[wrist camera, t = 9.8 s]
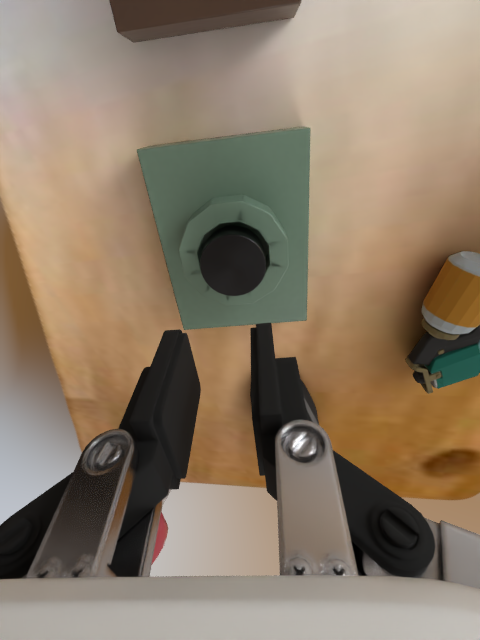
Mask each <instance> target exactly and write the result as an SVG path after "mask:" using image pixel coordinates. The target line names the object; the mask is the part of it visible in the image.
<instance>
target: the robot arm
mask: <svg viewBox="0 0 480 640" xmlns="http://www.w3.org/2000/svg"><path fill="white" fill-rule="evenodd" d="M200 391H201V389H200V382H199V378H198V374H197V370H196V367H195V363H194V359H193V355H192V351H191V347H190V343H189V339H188V336H187V333H182V331H181V330H167V331H165V332H164V333H163V336H162V339H161V341H160V344H159V346H158V349H157V351H156V354H155V356H154V359H153V362H152V364H151V367H146V368H144V369H143V371H142V373H141V376H140V378H139V380H138V383H137V385H136V388H135V390H134V392H133V395H132V397H131V400H130V402H129V404H128V407H127V409H126V412H125V414H124V417H123V419H122V421H121V424H120V426H119V429H113V430H109V431H106V432H104V433H102V434H100V435H98V436H97V437H95V438H94V439H93V440H92V441H91V442H90V443H89V444H88V445H87V446H86V447H85V449H84V451H83V452H82V454H81V456H80V459H79V461H78V463H77V465H76V468H75V470H74V472H73V473H71V474H70V475H68V476H67V477H66V478H64V479H63V480H61V481H60V482H59V483H57V484H56V485H54V486H53V487H52V488H50V489H49V490H47V491H46V492H44V493H43V494H42V495H40V496H39V497H37V498H36V499H35V500H33V501H32V502H30V503H29V504H28V505H26V506H25V507H23V508H22V509H21V510H19V511H18V512H16V513H15V514H14V515H12V516H11V517H10V518H8V519H7V520H6V521H5V522H4V523H2V524H1V525H0V640H480V535H478V534H476V533H473V532H471V531H468V530H465V529H463V528H460V527H458V526H455V525H452V524H450V523H447V522H444V521H440V523H436V522H433V521H431V520H429V519H426V518H424V517H423V516H422V514H421V513H420V512H419V511H418V510H416V509H415V508H414V507H413V506H412V505H411V504H409V503H408V502H406V501H405V500H404V499H402V498H401V497H399V496H398V495H396V494H395V493H394V492H392V491H391V490H389V489H388V488H386V487H385V486H383V485H382V484H381V483H379V482H378V481H376V480H375V479H373V478H372V477H371V476H369V475H368V474H366V473H365V472H363V471H362V470H361V469H359V468H358V467H356V466H355V465H353V464H352V463H351V462H349V461H348V460H346V459H345V458H343V457H342V456H341V455H339V454H338V453H336V452H335V451H333V450H332V445H331V441H330V439H329V436H328V434H327V433H326V432H325V431H324V429H323V428H322V427H320V426H319V425H317V424H316V423H313V422H311V421H309V420H308V415H307V410H306V405H305V400H304V395H303V390H302V385H301V380H300V375H299V370H298V365H297V360H296V357H289V358H275V353H274V344H273V335H272V326H271V323H258V324H256V328H251V402H252V420H253V428H254V436H255V443H256V451H257V458H258V466H259V473H260V476H261V475H265V478H266V487H267V491H268V493H269V494H270V495H271V496H272V497H273V498H274V499H276V500H277V508H278V533H279V534H278V535H279V562H280V576H178V577H177V576H175V577H149V576H150V570H151V565H152V559H153V554H154V548H155V543H156V537H157V532H158V526H159V521H160V515H161V510H162V500H163V499H164V498H165V497H166V496H167V495H168V493H169V489H179V485H180V479H181V478H185V477H186V474H187V468H188V463H189V457H190V451H191V445H192V439H193V434H194V428H195V422H196V416H197V410H198V404H199V399H200Z"/></svg>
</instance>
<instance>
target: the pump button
mask: <svg viewBox="0 0 480 640" xmlns="http://www.w3.org/2000/svg"><path fill="white" fill-rule="evenodd" d="M200 270H201V274H202V276H203V278H204V280H205V282H206V283H207V284H208V285H209V286H210V287H211V288H212V289H213V290H215V291H216V292H218V293H221V294H224V295H228V296H240V295H244V294H247V293H249V292H251V291H252V290H254V289H255V288H256V287H257V286H258V285H259V284H260V283H261V282H262V280H263V278H264V276H265V272H266V258H265V250H264V247H263V244H262V242H261V240H260V239H259V238H258V236H257V235H256V234H254V233H253V232H252V231H250V230H248V229H246V228H244V227H240V226H227V227H223V228H221V229H218V230H217V231H215V232H214V233H213V234H212V235H211V236H210V237H209V238H208V240H207V241H206V243H205V246H204V249H203V252H202V255H201V259H200Z"/></svg>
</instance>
